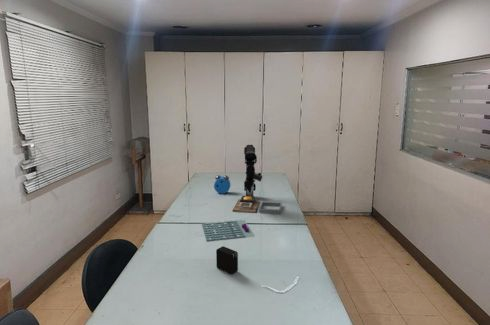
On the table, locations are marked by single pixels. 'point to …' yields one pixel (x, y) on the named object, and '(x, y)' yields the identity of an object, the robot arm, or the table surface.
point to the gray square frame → (270, 209)
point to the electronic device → (227, 260)
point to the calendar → (226, 230)
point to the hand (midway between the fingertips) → (250, 191)
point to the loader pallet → (246, 205)
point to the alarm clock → (222, 184)
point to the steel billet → (251, 192)
